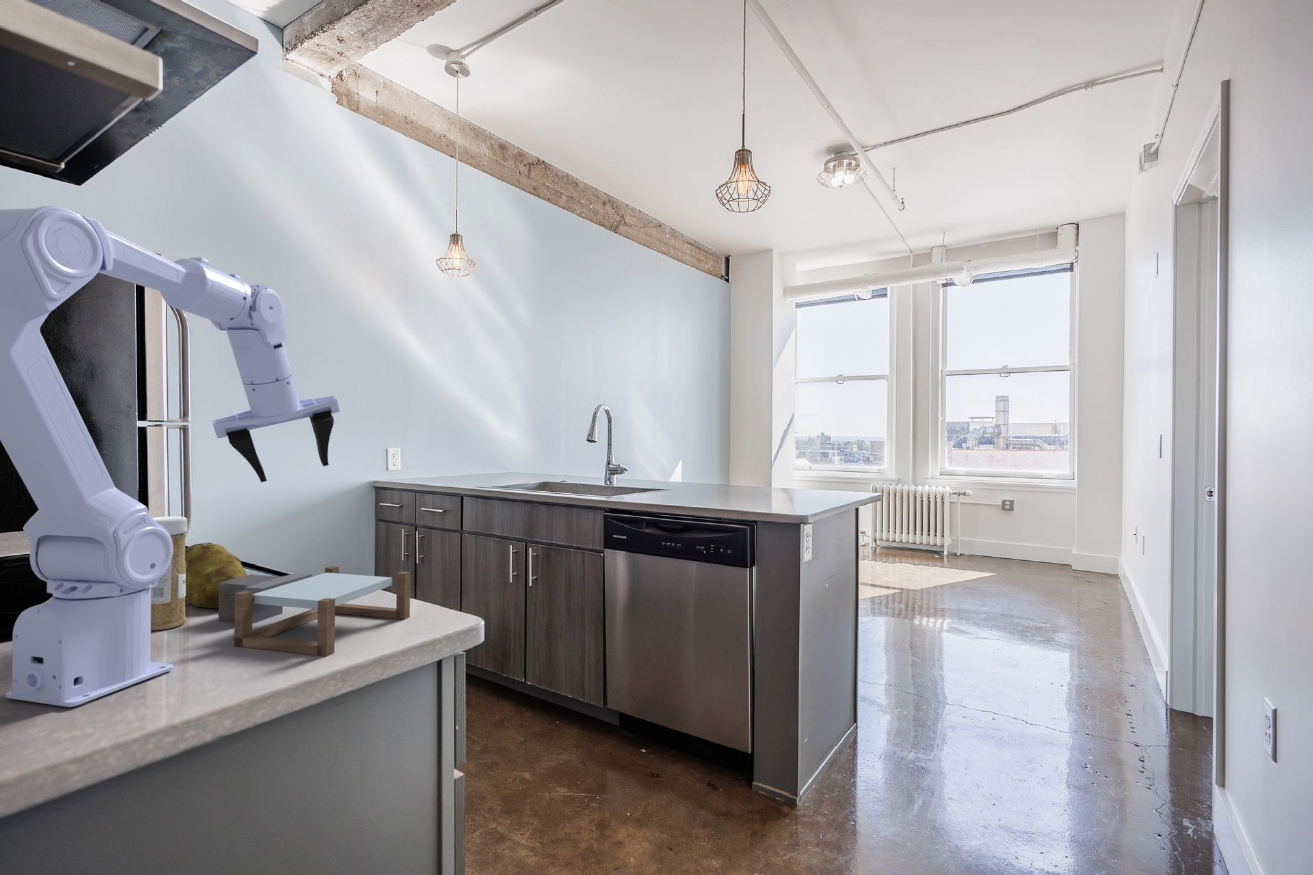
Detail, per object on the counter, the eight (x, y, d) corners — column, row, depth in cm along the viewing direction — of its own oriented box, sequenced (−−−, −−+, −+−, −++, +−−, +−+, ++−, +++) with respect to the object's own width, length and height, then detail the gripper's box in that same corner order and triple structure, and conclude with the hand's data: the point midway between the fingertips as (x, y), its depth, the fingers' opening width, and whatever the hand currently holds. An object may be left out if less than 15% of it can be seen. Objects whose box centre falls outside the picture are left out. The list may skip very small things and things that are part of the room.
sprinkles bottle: (195, 622, 80) (196, 516, 80) (159, 633, 76) (160, 521, 75) (166, 619, 81) (167, 514, 81) (129, 629, 77) (130, 519, 76)
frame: (326, 656, 69) (327, 601, 69) (234, 645, 72) (234, 593, 72) (409, 616, 84) (410, 572, 84) (330, 609, 87) (331, 566, 86)
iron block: (251, 624, 80) (251, 585, 80) (218, 621, 81) (218, 582, 81) (282, 613, 85) (283, 576, 85) (251, 610, 86) (251, 574, 86)
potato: (176, 618, 81) (176, 557, 81) (170, 597, 91) (170, 542, 91) (251, 608, 87) (252, 550, 87) (238, 589, 97) (239, 537, 96)
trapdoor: (325, 611, 71) (325, 599, 71) (230, 602, 74) (230, 591, 74) (392, 586, 83) (392, 576, 83) (307, 579, 85) (308, 569, 85)
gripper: (322, 360, 89) (344, 448, 94) (200, 382, 81) (231, 475, 87) (332, 372, 84) (355, 464, 89) (202, 396, 76) (235, 495, 81)
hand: (294, 471), depth 88 cm, fingers open, 7 cm apart
